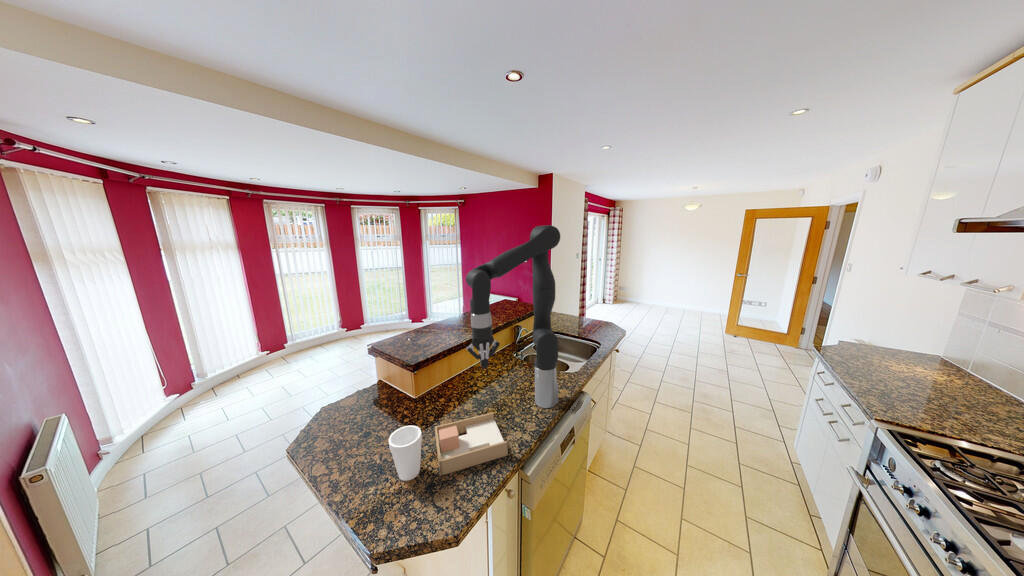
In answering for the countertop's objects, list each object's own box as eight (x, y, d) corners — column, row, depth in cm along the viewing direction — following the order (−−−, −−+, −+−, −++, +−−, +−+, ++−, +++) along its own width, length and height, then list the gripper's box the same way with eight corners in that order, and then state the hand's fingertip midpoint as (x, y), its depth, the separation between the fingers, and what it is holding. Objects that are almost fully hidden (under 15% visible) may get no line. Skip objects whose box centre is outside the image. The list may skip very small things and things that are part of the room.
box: (493, 423, 109) (493, 412, 108) (507, 455, 93) (507, 442, 92) (435, 438, 102) (434, 426, 101) (440, 475, 86) (439, 461, 85)
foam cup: (399, 461, 92) (395, 426, 89) (427, 459, 92) (424, 424, 90) (388, 486, 83) (383, 448, 80) (420, 484, 83) (416, 446, 81)
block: (457, 438, 98) (456, 425, 97) (459, 448, 93) (458, 434, 92) (439, 442, 96) (438, 430, 95) (441, 453, 91) (440, 439, 90)
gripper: (495, 318, 108) (498, 360, 111) (461, 324, 103) (465, 367, 107) (501, 323, 101) (504, 368, 104) (465, 330, 96) (470, 376, 100)
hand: (484, 367), depth 105 cm, fingers closed
